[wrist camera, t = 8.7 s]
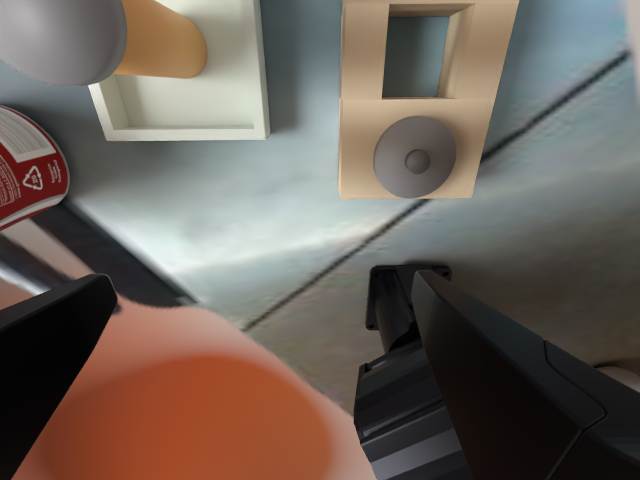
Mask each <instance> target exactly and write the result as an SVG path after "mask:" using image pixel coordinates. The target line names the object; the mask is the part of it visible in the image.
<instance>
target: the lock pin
mask: <svg viewBox="0 0 640 480" xmlns="http://www.w3.org/2000/svg"><path fill="white" fill-rule="evenodd" d="M0 59H2V60H3V61H4V62H5V63H6V64H8V65H9V66H11V67H12V68H14V69H15V70H17V71H18V72H20V73H22V74H24V75H25V76H28V77H30V78H32V79H34V80H37V81H40V82H43V83H47V84H53V85H75V86H83V85H92V84H95V83H99V82H101V81H103V80H105V79H106V78H108V77H109V76H111V75H112V74H125V75H139V76H153V77H167V78H181V79H189V78H193V77H195V76H197V75H198V74H199V73H200V72H201V71H202V70H203V68H204V67H205V64H206V61H207V46H206V42H205V39H204V37H203V35H202V33H201V31H200V30H199V29H198V27H197V26H196V25H195V24H194V23H193V22H192V21H190V20H189V19H187V18H185V17H184V16H182V15H180V14H178V13H176V12H175V11H173V10H171V9H169V8H168V7H166V6H164V5H162V4H160V3H159V2H157V1H155V0H0Z"/></svg>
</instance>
